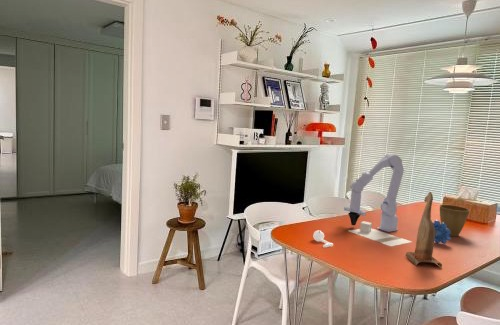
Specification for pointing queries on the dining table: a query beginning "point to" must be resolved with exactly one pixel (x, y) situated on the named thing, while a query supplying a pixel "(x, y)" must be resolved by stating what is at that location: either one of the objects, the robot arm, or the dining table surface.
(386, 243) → the subfloor board
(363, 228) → the cream white cube
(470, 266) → the dining table surface
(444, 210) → the plant pot
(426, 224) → the bird sculpture
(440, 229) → the grapes
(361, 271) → the dining table surface
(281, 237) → the dining table surface
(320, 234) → the figurine
